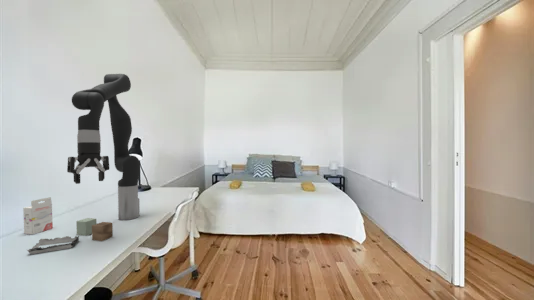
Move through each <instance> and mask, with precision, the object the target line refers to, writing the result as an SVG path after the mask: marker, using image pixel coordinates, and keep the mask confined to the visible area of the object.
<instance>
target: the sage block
mask: <svg viewBox="0 0 534 300" xmlns="http://www.w3.org/2000/svg"><path fill="white" fill-rule="evenodd" d="M95 224H97V218H95V217H94V218H91V217H86V218H83V219H80V220H76V236H83V237H87V236H90V235H92V225H95Z"/></svg>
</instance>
